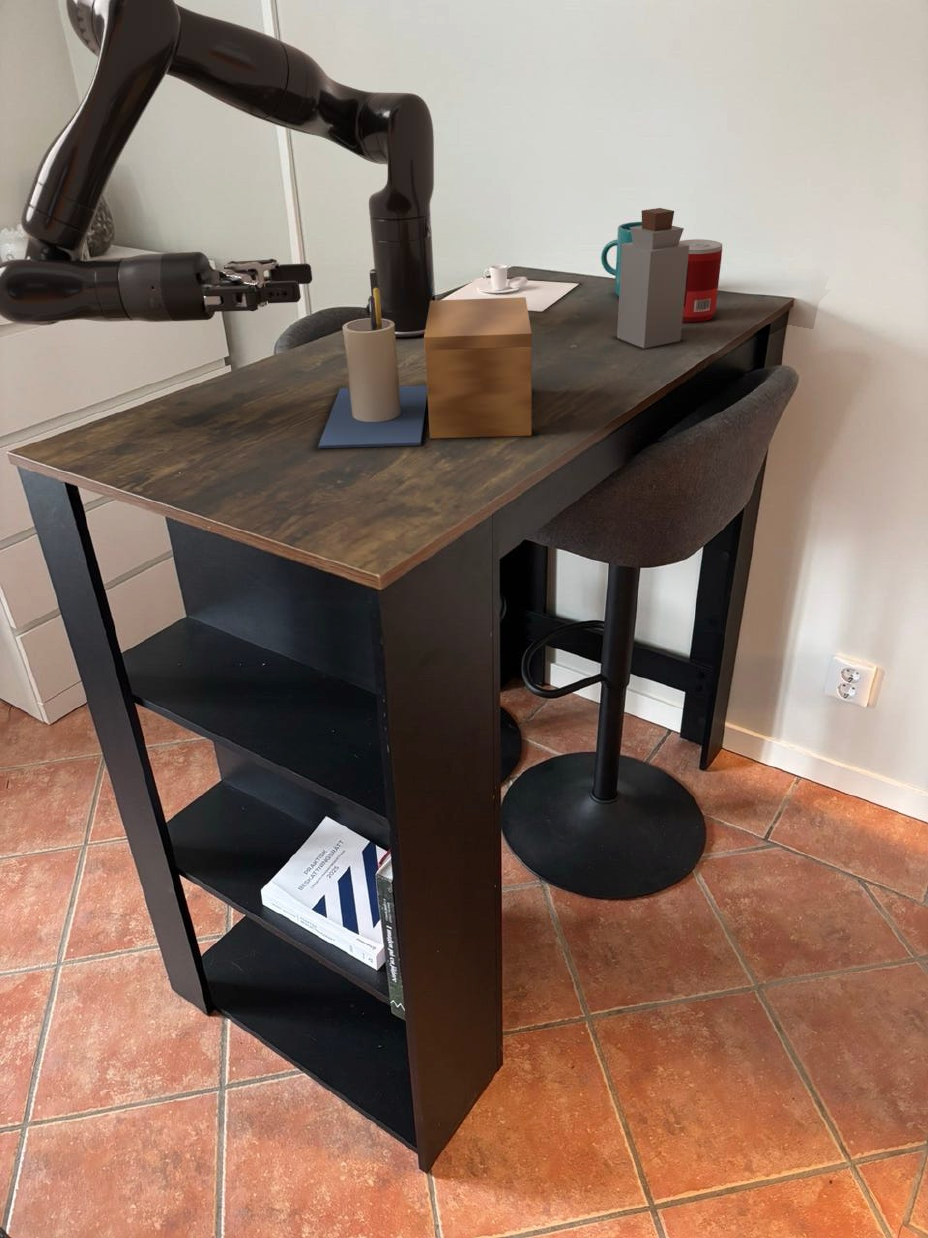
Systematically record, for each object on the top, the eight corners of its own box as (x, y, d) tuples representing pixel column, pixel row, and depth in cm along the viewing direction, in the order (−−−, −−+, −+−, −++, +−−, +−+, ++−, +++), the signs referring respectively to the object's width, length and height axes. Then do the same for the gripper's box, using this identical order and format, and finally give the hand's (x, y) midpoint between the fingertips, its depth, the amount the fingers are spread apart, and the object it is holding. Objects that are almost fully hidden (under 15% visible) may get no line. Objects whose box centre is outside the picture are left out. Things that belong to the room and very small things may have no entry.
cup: (608, 285, 167) (611, 219, 161) (673, 290, 162) (678, 222, 156) (591, 297, 160) (593, 228, 154) (657, 303, 155) (663, 232, 149)
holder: (343, 419, 114) (329, 293, 105) (365, 402, 118) (353, 281, 110) (388, 424, 112) (377, 296, 103) (409, 407, 116) (400, 283, 108)
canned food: (721, 312, 149) (729, 240, 143) (704, 325, 143) (712, 250, 137) (676, 307, 152) (683, 237, 146) (658, 319, 147) (664, 247, 141)
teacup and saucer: (531, 286, 168) (531, 262, 166) (515, 296, 162) (515, 272, 160) (487, 283, 171) (487, 260, 169) (470, 293, 165) (469, 270, 163)
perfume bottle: (643, 348, 134) (653, 216, 125) (616, 337, 140) (623, 210, 130) (680, 340, 137) (692, 210, 127) (652, 330, 142) (662, 204, 132)
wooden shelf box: (430, 438, 108) (423, 336, 102) (435, 392, 122) (430, 300, 115) (531, 435, 108) (531, 333, 101) (525, 389, 121) (525, 296, 115)
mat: (318, 448, 107) (318, 445, 107) (340, 390, 124) (340, 388, 124) (420, 445, 107) (420, 442, 106) (428, 388, 123) (428, 385, 123)
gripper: (142, 268, 99) (290, 261, 98) (177, 241, 111) (310, 235, 110) (157, 337, 103) (300, 331, 103) (190, 304, 115) (318, 299, 114)
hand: (305, 281), depth 106 cm, fingers open, 8 cm apart
